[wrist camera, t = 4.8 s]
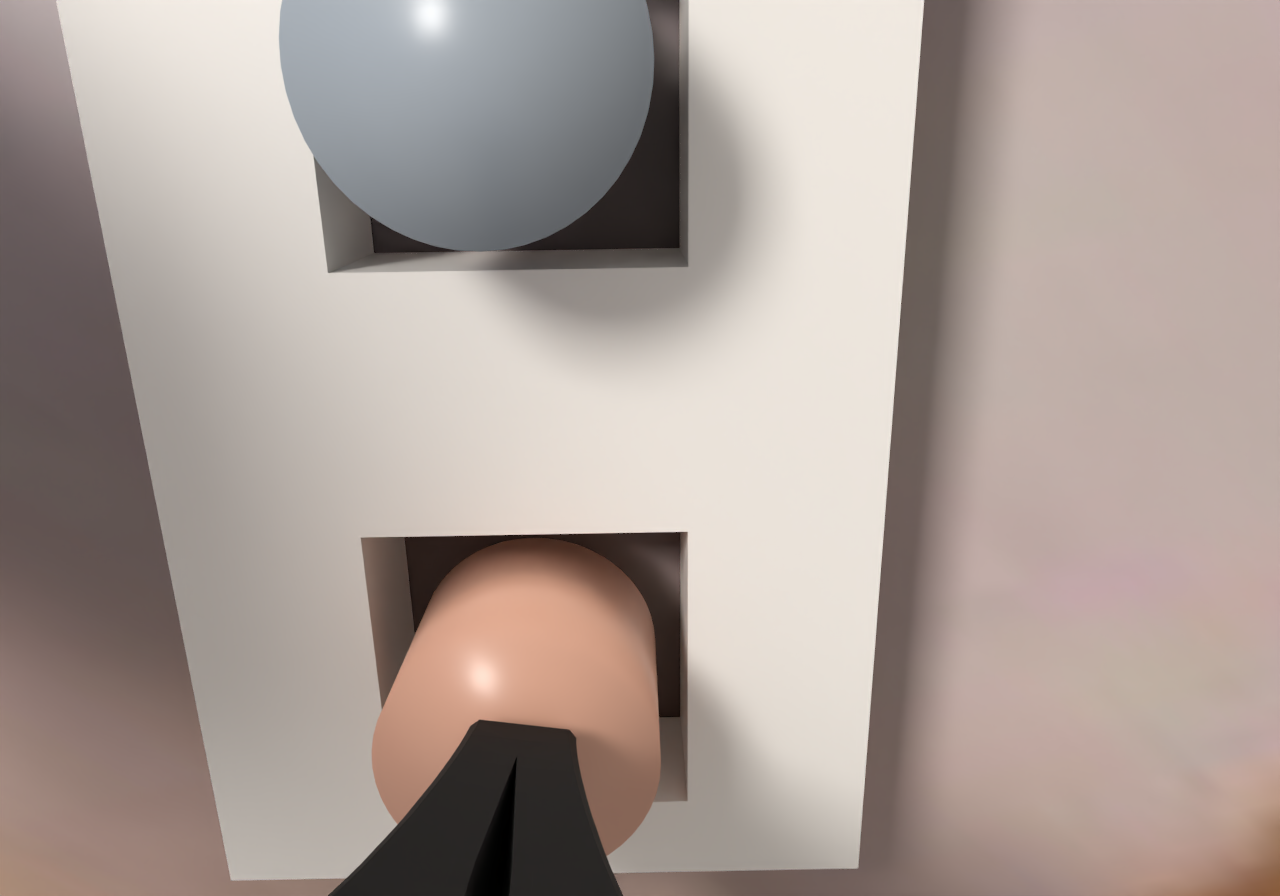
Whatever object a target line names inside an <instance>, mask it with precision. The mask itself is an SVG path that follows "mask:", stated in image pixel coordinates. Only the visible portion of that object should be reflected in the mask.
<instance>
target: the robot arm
mask: <svg viewBox="0 0 1280 896" xmlns="http://www.w3.org/2000/svg"><path fill="white" fill-rule="evenodd" d="M328 896H623V895H622V892H621V890H620V888H619V885H618V883H617V881H616V878H615V876H614V874H613V871H612V869H611V867H610V864H609V862H608V859H607V856H606V854H605V851H604V849H603V846H602V843H601V840H600V837H599V834H598V831H597V828H596V825H595V823H594V820H593V817H592V814H591V810H590V807H589V804H588V800H587V797H586V793H585V789H584V785H583V781H582V777H581V772H580V767H579V762H578V755H577V745H576V737H575V736H574V734H573V733H572V732H571V731H570V730H569V729H560V728H551V727H542V726H533V725H524V724H515V723H506V722H498V721H489V720H480V719H479V720H478V721H477V722H475V723H474V724H472V725H471V726H470V727H469V729H468V731H467V733H466V735H465V736H464V738H463V740H462V741H461V743H460V744H459V746H458V747H457V749H456V750H455V752H454V753H453V755H452V756H451V758H450V759H449V761H448V762H447V763H446V765H445V766H444V767H443V769H442V770H441V771H440V773H439V774H438V775H437V777H436V778H435V780H434V781H433V782H432V783H431V785H430V786H429V787H428V788H427V790H426V791H425V792H424V793H423V794H422V796H421V797H420V798H419V799H418V801H417V802H416V803H415V804H414V806H413V807H412V808H411V809H410V810H409V812H408V813H407V814H406V815H405V817H404V818H403V819H402V820H401V821H400V822H399V823H398V825H397V826H396V827H395V828H394V829H393V830H392V831H391V832H390V833H389V834H388V835H387V836H386V838H385V839H384V840H383V841H382V842H381V843H380V844H379V845H378V846H377V847H376V848H375V849H374V850H373V852H372V853H371V854H370V855H369V856H368V857H367V858H366V859H365V860H364V861H363V862H362V863H361V864H360V865H359V866H358V867H357V868H356V869H355V870H354V871H353V872H352V873H351V874H350V875H349V876H348V877H347V878H346V879H345V880H344V881H343V882H342V883H341V884H340V885H339V886H338V887H337V888H336V889H335V890H334V891H333V892H331V893H330V894H329V895H328Z"/></svg>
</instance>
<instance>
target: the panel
mask: <svg viewBox="0 0 1280 896" xmlns="http://www.w3.org/2000/svg"><path fill="white" fill-rule="evenodd" d="M56 3H57V8H58V13H59V18H60V23H61V28H62V33H63V38H64V43H65V48H66V53H67V58H68V63H69V68H70V73H71V78H72V83H73V88H74V93H75V98H76V103H77V108H78V113H79V118H80V123H81V128H82V133H83V138H84V143H85V148H86V154H87V159H88V164H89V169H90V174H91V179H92V184H93V189H94V194H95V199H96V204H97V209H98V214H99V219H100V224H101V229H102V234H103V239H104V244H105V249H106V254H107V259H108V264H109V269H110V274H111V279H112V284H113V289H114V294H115V299H116V304H117V309H118V314H119V319H120V324H121V329H122V335H123V340H124V345H125V350H126V355H127V360H128V365H129V370H130V375H131V380H132V385H133V390H134V395H135V400H136V405H137V410H138V415H139V420H140V425H141V430H142V435H143V440H144V445H145V450H146V455H147V460H148V465H149V470H150V475H151V480H152V485H153V490H154V495H155V500H156V505H157V510H158V516H159V521H160V526H161V531H162V536H163V541H164V546H165V551H166V556H167V561H168V566H169V571H170V576H171V581H172V586H173V591H174V596H175V601H176V606H177V611H178V616H179V621H180V626H181V631H182V636H183V641H184V646H185V651H186V656H187V661H188V666H189V671H190V676H191V681H192V686H193V691H194V697H195V702H196V707H197V712H198V717H199V722H200V727H201V732H202V737H203V742H204V747H205V752H206V757H207V762H208V767H209V772H210V777H211V782H212V787H213V792H214V797H215V802H216V807H217V812H218V817H219V822H220V827H221V832H222V837H223V842H224V847H225V852H226V857H227V862H228V867H229V872H230V877H231V881H233V880H285V879H337V878H347V877H348V876H349V875H350V874H351V873H352V872H353V871H354V870H355V869H356V868H357V867H358V866H359V865H360V864H361V863H362V862H363V861H364V860H365V859H366V858H367V857H368V856H369V855H370V854H371V853H372V852H373V850H374V849H375V848H376V847H377V846H378V845H379V844H380V843H381V842H382V841H383V840H384V839H385V838H386V836H387V835H388V834H389V833H390V832H391V831H392V830H393V829H394V828H395V827H396V826H397V825H398V824H397V823H396V822H395V820H394V819H393V818H392V816H391V815H390V814H389V812H388V810H387V808H386V806H385V805H384V803H383V801H382V799H381V797H380V794H379V791H378V789H377V786H376V783H375V778H374V773H373V769H372V742H373V735H374V731H375V727H376V724H377V720H378V718H379V716H380V713H381V711H382V709H383V707H384V704H385V702H386V700H387V697H388V695H389V693H390V691H391V688H392V686H393V684H394V681H395V679H396V677H397V675H398V672H399V670H400V668H401V665H402V663H403V661H404V659H405V656H406V654H407V652H408V650H409V647H410V645H411V643H412V640H413V638H414V636H415V631H414V622H413V613H412V603H411V594H410V585H409V575H408V566H407V556H406V547H405V538H404V537H421V536H477V535H533V534H589V533H645V532H680V717H659V730H660V751H661V770H660V780H659V784H658V789H657V793H656V796H655V798H654V801H653V803H652V806H651V808H650V810H649V812H648V813H647V815H646V817H645V819H644V820H643V822H642V823H641V824H640V826H639V827H638V828H637V830H636V831H635V832H634V833H633V835H631V836H630V837H629V838H628V839H627V840H626V841H625V842H624V843H623V844H622V845H621V846H620V847H618V848H617V849H616V850H614V851H613V852H612V853H610V854H609V855H608V856H607V859H608V862H609V864H610V867H611V869H612V871H613V873H648V872H700V871H752V870H804V869H856V868H858V863H859V850H860V837H861V824H862V811H863V798H864V785H865V771H866V758H867V745H868V732H869V719H870V706H871V693H872V679H873V666H874V653H875V640H876V627H877V614H878V601H879V587H880V574H881V561H882V548H883V535H884V522H885V509H886V496H887V482H888V469H889V456H890V443H891V430H892V417H893V404H894V390H895V377H896V364H897V351H898V338H899V325H900V312H901V298H902V285H903V272H904V259H905V246H906V233H907V220H908V206H909V193H910V180H911V167H912V154H913V141H914V128H915V114H916V101H917V88H918V75H919V62H920V49H921V36H922V22H923V9H924V0H679V148H680V248H652V249H592V250H532V251H483V252H478V251H472V252H412V253H374V247H373V238H372V228H371V219H370V216H369V215H368V214H367V213H366V212H364V211H363V210H362V209H361V208H359V207H358V206H357V205H356V204H354V203H353V202H352V201H351V200H350V199H349V198H348V197H347V196H346V195H345V194H344V193H343V192H342V191H341V190H340V189H339V188H338V187H337V186H336V185H335V184H334V183H333V182H332V180H331V179H330V178H329V176H328V175H327V174H326V172H325V171H324V170H323V169H322V167H321V166H320V165H319V163H318V162H317V160H316V159H315V157H314V155H313V154H312V152H311V150H310V149H309V147H308V145H307V144H306V142H305V140H304V138H303V136H302V134H301V131H300V129H299V127H298V125H297V123H296V120H295V118H294V116H293V113H292V109H291V106H290V103H289V100H288V97H287V94H286V90H285V85H284V80H283V75H282V69H281V63H280V48H279V25H280V10H281V4H282V0H56Z"/></svg>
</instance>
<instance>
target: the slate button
mask: <svg viewBox="0 0 1280 896" xmlns="http://www.w3.org/2000/svg"><path fill="white" fill-rule="evenodd" d="M279 48H280V63H281V69H282V75H283V80H284V85H285V90H286V94H287V97H288V100H289V103H290V106H291V109H292V113H293V116H294V118H295V120H296V123H297V125H298V127H299V129H300V131H301V134H302V136H303V138H304V140H305V142H306V144H307V145H308V147H309V149H310V150H311V152H312V154H313V155H314V157H315V159H316V160H317V162H318V163H319V165H320V166H321V167H322V169H323V170H324V171H325V172H326V174H327V175H328V176H329V178H330V179H331V180H332V182H333V183H334V184H335V185H336V186H337V187H338V188H339V189H340V190H341V191H342V192H343V193H344V194H345V195H346V196H347V197H348V198H349V199H350V200H351V201H352V202H353V203H354V204H356V205H357V206H358V207H359V208H361V209H362V210H363V211H364V212H366V213H367V214H368V215H369V216H371V217H372V218H374V219H375V220H377V221H379V222H380V223H382V224H383V225H385V226H387V227H388V228H390V229H392V230H394V231H396V232H398V233H400V234H402V235H405V236H407V237H409V238H411V239H414V240H417V241H420V242H423V243H426V244H429V245H432V246H436V247H441V248H447V249H452V250H458V251H478V252H483V251H495V250H505V249H509V248H514V247H518V246H523V245H527V244H529V243H532V242H535V241H538V240H540V239H543V238H546V237H548V236H550V235H552V234H554V233H556V232H557V231H559V230H561V229H563V228H565V227H567V226H568V225H570V224H571V223H573V222H574V221H575V220H577V219H578V218H580V217H581V216H582V215H584V214H585V213H586V212H587V211H589V210H590V209H591V208H592V207H593V206H594V205H595V204H596V203H597V202H598V201H599V200H600V199H601V198H602V197H603V196H604V195H605V194H606V193H607V191H608V190H609V189H610V188H611V186H612V185H613V184H614V183H615V181H616V180H617V179H618V178H619V176H620V174H621V173H622V171H623V170H624V168H625V166H626V165H627V163H628V161H629V160H630V158H631V156H632V154H633V152H634V149H635V147H636V145H637V143H638V141H639V138H640V136H641V134H642V130H643V127H644V124H645V120H646V117H647V114H648V111H649V105H650V99H651V94H652V88H653V75H654V47H653V33H652V27H651V22H650V17H649V12H648V7H647V3H646V0H282V4H281V10H280V25H279Z"/></svg>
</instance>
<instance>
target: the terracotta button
mask: <svg viewBox="0 0 1280 896" xmlns="http://www.w3.org/2000/svg"><path fill="white" fill-rule="evenodd" d="M479 719H480V720H489V721H498V722H506V723H515V724H524V725H533V726H542V727H551V728H560V729H569V730H570V731H571V732H572V733H573V734H574V736H575V737H576V745H577V755H578V762H579V767H580V772H581V777H582V781H583V785H584V789H585V793H586V797H587V800H588V804H589V807H590V810H591V814H592V817H593V820H594V823H595V825H596V828H597V831H598V834H599V837H600V840H601V843H602V846H603V849H604V851H605V854H606V856H608V855H609V854H610V853H612V852H613V851H614V850H616V849H617V848H618V847H620V846H621V845H622V844H623V843H624V842H625V841H626V840H627V839H628V838H629V837H630V836H631V835H633V833H634V832H635V831H636V830H637V828H638V827H639V826H640V824H641V823H642V822H643V820H644V819H645V817H646V815H647V813H648V812H649V810H650V808H651V806H652V803H653V801H654V798H655V796H656V793H657V789H658V784H659V780H660V770H661V751H660V730H659V710H658V689H657V668H656V647H655V633H654V626H653V622H652V618H651V614H650V612H649V609H648V607H647V604H646V602H645V600H644V599H643V597H642V595H641V593H640V592H639V590H638V589H637V587H636V586H635V585H634V583H633V582H632V581H631V580H630V578H629V577H628V576H627V575H626V574H625V573H624V572H623V571H622V570H621V569H620V568H618V567H617V566H616V565H614V564H613V563H612V562H610V561H609V560H608V559H606V558H604V557H603V556H601V555H599V554H598V553H596V552H594V551H592V550H589V549H587V548H585V547H582V546H580V545H577V544H573V543H570V542H566V541H562V540H556V539H550V538H522V539H514V540H509V541H504V542H500V543H497V544H494V545H491V546H488V547H486V548H484V549H482V550H480V551H478V552H476V553H473V554H472V555H470V556H469V557H467V558H466V559H464V560H463V561H461V562H460V563H459V564H458V565H457V566H455V567H454V568H453V569H452V570H451V571H450V572H449V573H448V574H447V575H446V576H445V578H444V579H443V580H442V581H441V582H440V584H439V585H438V587H437V588H436V590H435V592H434V593H433V595H432V597H431V600H430V602H429V604H428V606H427V608H426V611H425V613H424V615H423V618H422V620H421V622H420V624H419V627H418V629H417V631H416V634H415V636H414V638H413V640H412V643H411V645H410V647H409V650H408V652H407V654H406V656H405V659H404V661H403V663H402V665H401V668H400V670H399V672H398V675H397V677H396V679H395V681H394V684H393V686H392V688H391V691H390V693H389V695H388V697H387V700H386V702H385V704H384V707H383V709H382V711H381V713H380V716H379V718H378V720H377V724H376V727H375V731H374V735H373V742H372V769H373V773H374V778H375V783H376V786H377V789H378V791H379V794H380V797H381V799H382V801H383V803H384V805H385V806H386V808H387V810H388V812H389V814H390V815H391V816H392V818H393V819H394V820H395V822H396V823H397V824H398V823H399V822H400V821H401V820H402V819H403V818H404V817H405V815H406V814H407V813H408V812H409V810H410V809H411V808H412V807H413V806H414V804H415V803H416V802H417V801H418V799H419V798H420V797H421V796H422V794H423V793H424V792H425V791H426V790H427V788H428V787H429V786H430V785H431V783H432V782H433V781H434V780H435V778H436V777H437V775H438V774H439V773H440V771H441V770H442V769H443V767H444V766H445V765H446V763H447V762H448V761H449V759H450V758H451V756H452V755H453V753H454V752H455V750H456V749H457V747H458V746H459V744H460V743H461V741H462V740H463V738H464V736H465V735H466V733H467V731H468V729H469V727H470V726H471V725H472V724H474V723H475V722H477V721H478V720H479Z"/></svg>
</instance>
